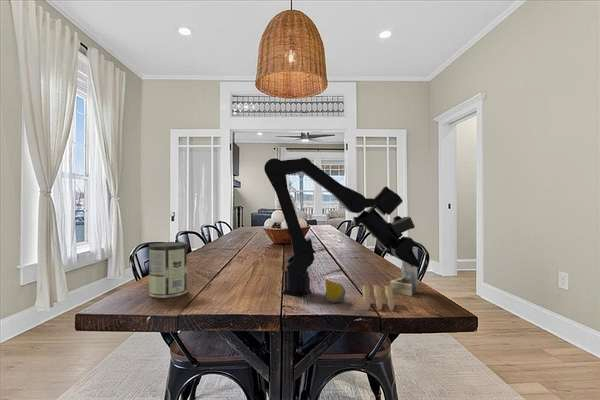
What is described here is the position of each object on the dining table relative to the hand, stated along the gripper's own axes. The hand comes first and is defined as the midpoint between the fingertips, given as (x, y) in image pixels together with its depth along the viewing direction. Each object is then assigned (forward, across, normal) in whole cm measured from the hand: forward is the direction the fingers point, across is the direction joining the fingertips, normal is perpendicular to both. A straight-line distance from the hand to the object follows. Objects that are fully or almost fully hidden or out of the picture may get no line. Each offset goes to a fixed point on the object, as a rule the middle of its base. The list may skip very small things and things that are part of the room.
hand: (414, 264), depth 106 cm
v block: (+2, 0, +9) cm, 9 cm away
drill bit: (-12, -10, +24) cm, 29 cm away
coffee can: (-44, +1, +56) cm, 72 cm away
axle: (+5, 0, +7) cm, 8 cm away
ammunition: (-4, -14, +16) cm, 22 cm away
